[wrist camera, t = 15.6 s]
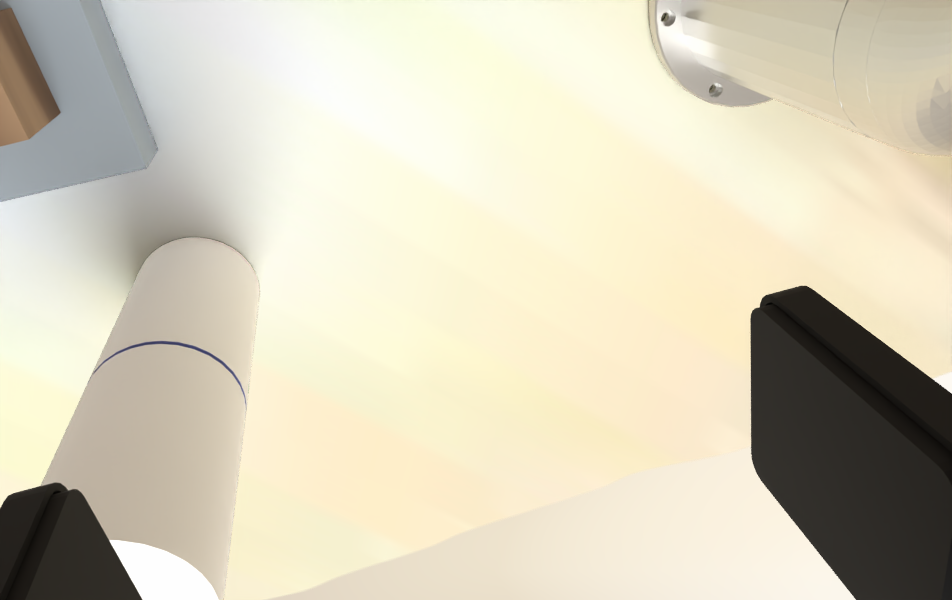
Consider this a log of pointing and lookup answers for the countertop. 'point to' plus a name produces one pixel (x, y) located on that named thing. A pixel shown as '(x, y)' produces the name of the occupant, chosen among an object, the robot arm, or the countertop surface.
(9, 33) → the walnut cube
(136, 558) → the cylindrical container
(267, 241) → the countertop surface
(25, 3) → the grey base block
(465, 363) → the countertop surface
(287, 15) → the countertop surface
